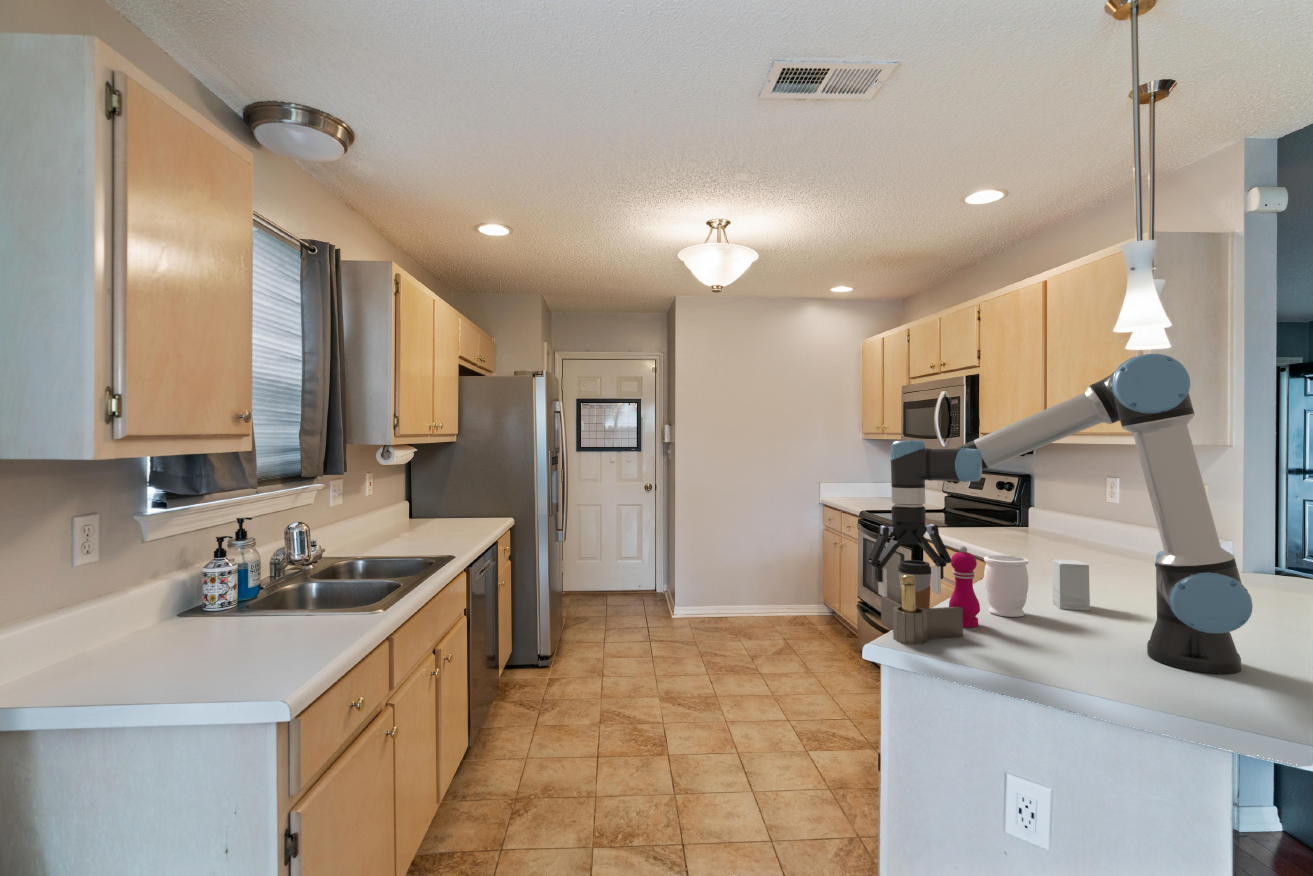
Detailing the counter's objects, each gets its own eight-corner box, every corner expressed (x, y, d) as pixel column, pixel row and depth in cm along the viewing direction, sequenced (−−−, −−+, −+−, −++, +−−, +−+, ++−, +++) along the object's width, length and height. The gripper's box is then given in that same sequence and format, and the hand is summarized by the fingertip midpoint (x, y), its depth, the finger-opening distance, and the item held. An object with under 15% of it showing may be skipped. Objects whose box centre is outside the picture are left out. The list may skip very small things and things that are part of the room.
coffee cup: (906, 613, 172) (906, 558, 172) (937, 619, 166) (937, 562, 166) (893, 619, 166) (892, 563, 166) (924, 626, 160) (923, 567, 160)
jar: (1018, 608, 175) (1017, 554, 176) (1036, 619, 165) (1035, 562, 165) (978, 608, 177) (977, 554, 177) (994, 618, 166) (993, 561, 166)
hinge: (971, 641, 148) (971, 611, 148) (903, 645, 146) (903, 614, 146) (930, 620, 165) (930, 594, 165) (869, 624, 163) (869, 597, 163)
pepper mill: (984, 623, 162) (982, 545, 162) (975, 630, 157) (974, 549, 157) (954, 618, 167) (953, 543, 167) (945, 624, 161) (943, 546, 162)
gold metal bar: (919, 640, 149) (916, 576, 149) (907, 641, 148) (905, 577, 149) (912, 636, 152) (910, 574, 152) (901, 637, 151) (898, 575, 152)
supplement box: (1090, 611, 172) (1089, 564, 172) (1059, 609, 174) (1058, 563, 175) (1082, 604, 179) (1081, 560, 179) (1052, 602, 181) (1051, 558, 182)
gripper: (947, 502, 156) (948, 588, 156) (851, 504, 152) (853, 592, 152) (966, 505, 148) (967, 595, 148) (866, 508, 145) (867, 600, 145)
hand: (909, 594), depth 150 cm, fingers open, 13 cm apart
